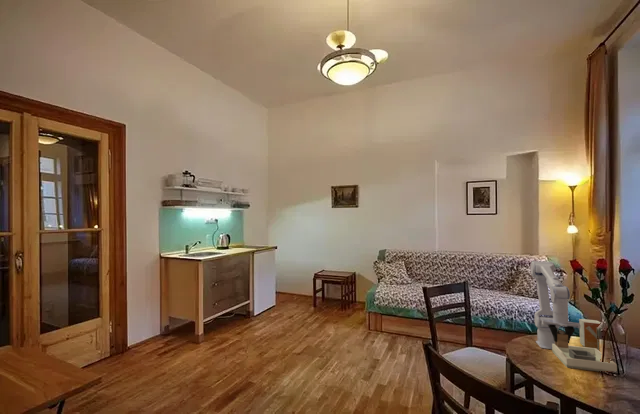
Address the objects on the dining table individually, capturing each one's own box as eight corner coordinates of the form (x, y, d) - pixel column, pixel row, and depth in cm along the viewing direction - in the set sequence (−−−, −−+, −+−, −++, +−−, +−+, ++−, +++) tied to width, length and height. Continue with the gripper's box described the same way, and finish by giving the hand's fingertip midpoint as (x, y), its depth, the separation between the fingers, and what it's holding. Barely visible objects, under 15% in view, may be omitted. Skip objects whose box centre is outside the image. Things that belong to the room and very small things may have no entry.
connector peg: (554, 344, 150) (554, 329, 150) (565, 345, 148) (564, 330, 149) (557, 347, 146) (557, 331, 146) (568, 348, 145) (567, 332, 145)
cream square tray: (552, 351, 159) (552, 343, 159) (596, 356, 153) (596, 348, 153) (566, 367, 142) (566, 358, 142) (617, 373, 136) (616, 364, 136)
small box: (584, 347, 164) (583, 322, 165) (579, 343, 170) (578, 318, 171) (604, 349, 161) (603, 323, 162) (598, 345, 167) (597, 320, 168)
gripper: (544, 313, 147) (545, 343, 146) (583, 316, 142) (584, 347, 141) (540, 309, 153) (541, 337, 153) (576, 312, 148) (577, 341, 148)
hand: (561, 341), depth 147 cm, fingers closed on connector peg, 4 cm apart
